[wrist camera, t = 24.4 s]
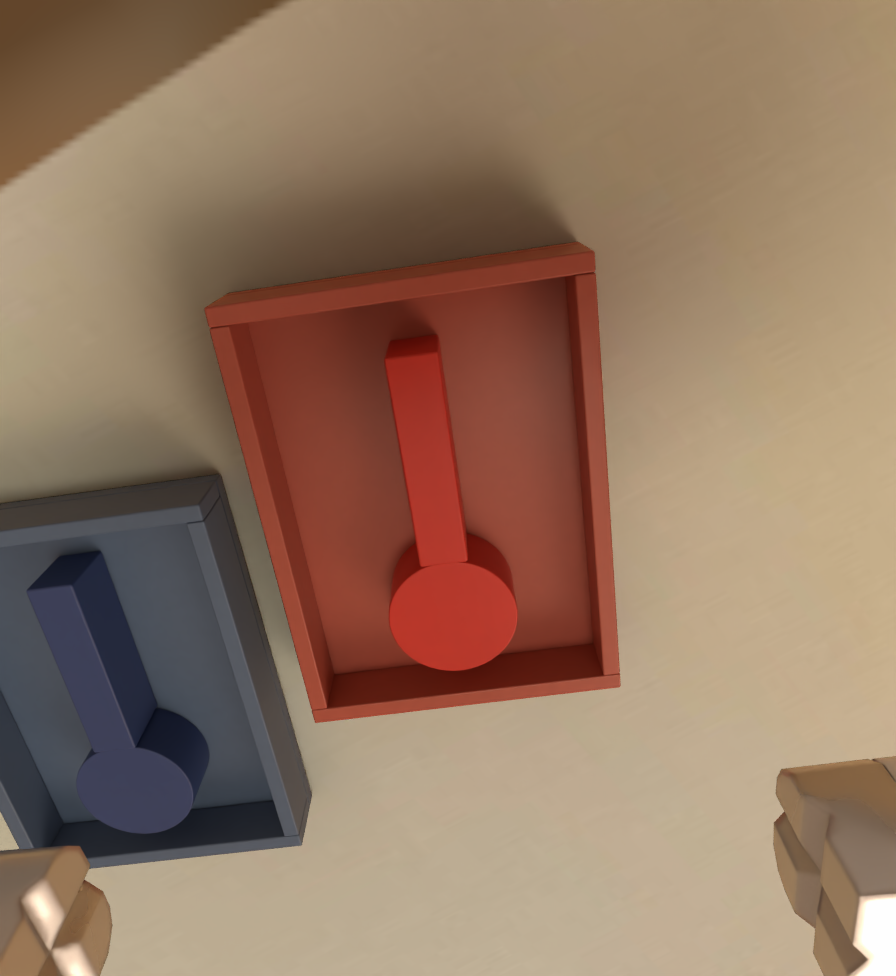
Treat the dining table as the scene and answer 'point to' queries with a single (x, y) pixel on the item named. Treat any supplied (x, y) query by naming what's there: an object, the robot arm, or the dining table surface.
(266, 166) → the dining table surface
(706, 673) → the dining table surface
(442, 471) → the red spoon
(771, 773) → the dining table surface
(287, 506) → the red tray
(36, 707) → the blue tray
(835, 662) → the dining table surface
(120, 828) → the blue spoon
